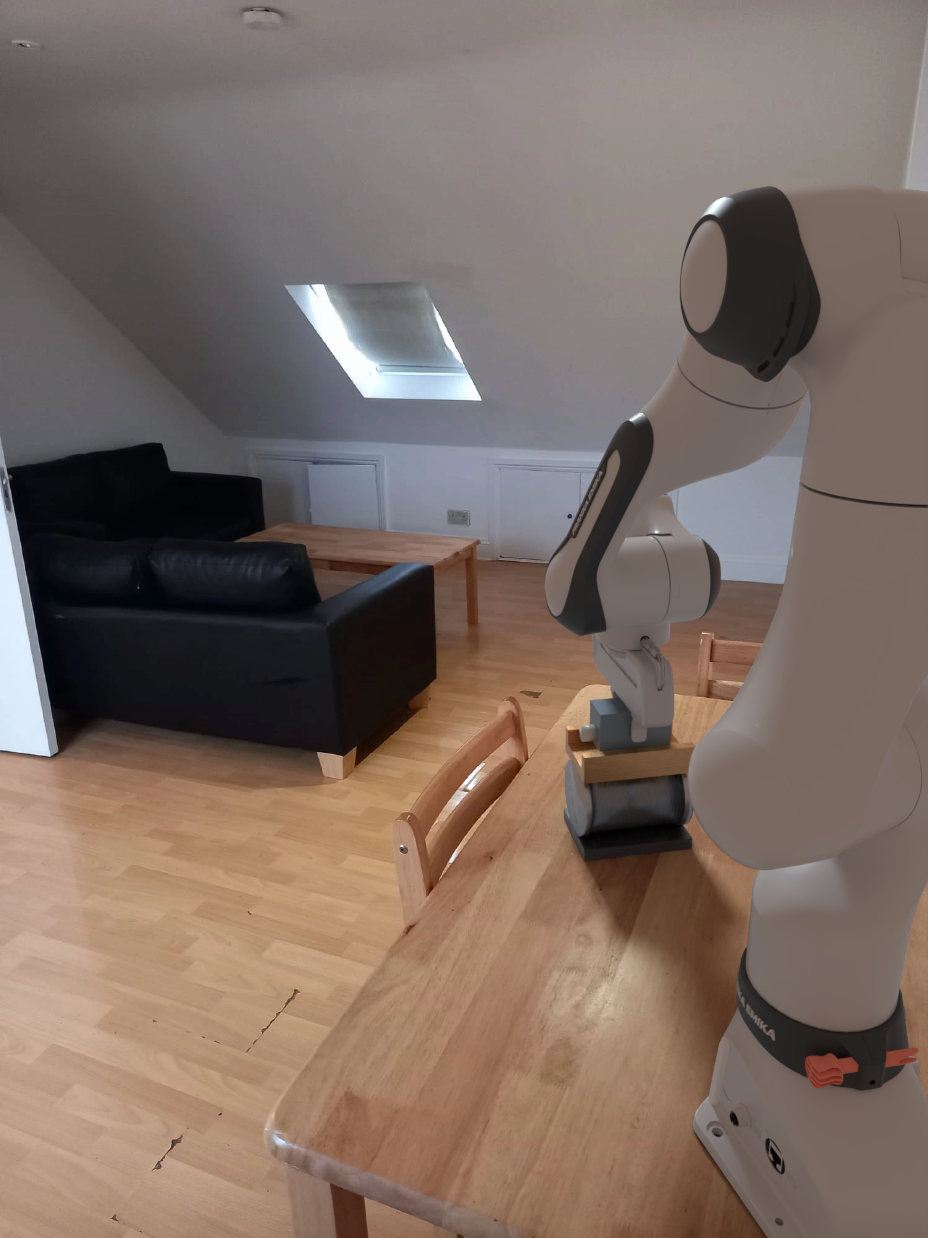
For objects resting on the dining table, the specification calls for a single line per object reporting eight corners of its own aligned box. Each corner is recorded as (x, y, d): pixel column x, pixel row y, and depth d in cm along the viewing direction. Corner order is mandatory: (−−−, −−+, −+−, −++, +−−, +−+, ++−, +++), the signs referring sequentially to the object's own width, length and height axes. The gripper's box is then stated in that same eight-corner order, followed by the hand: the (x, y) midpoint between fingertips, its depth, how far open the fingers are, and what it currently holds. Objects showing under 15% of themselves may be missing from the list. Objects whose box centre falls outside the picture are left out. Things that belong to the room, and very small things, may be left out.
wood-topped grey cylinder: (691, 848, 108) (698, 749, 103) (584, 860, 106) (585, 760, 101) (663, 807, 117) (667, 714, 112) (563, 817, 115) (564, 724, 111)
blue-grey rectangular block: (670, 745, 105) (672, 708, 104) (586, 753, 104) (586, 716, 102) (657, 729, 110) (658, 693, 108) (576, 737, 108) (576, 701, 107)
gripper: (691, 652, 93) (685, 765, 97) (630, 598, 112) (627, 694, 116) (636, 657, 92) (632, 771, 96) (584, 601, 111) (582, 698, 115)
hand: (629, 728), depth 106 cm, fingers closed on blue-grey rectangular block, 4 cm apart
